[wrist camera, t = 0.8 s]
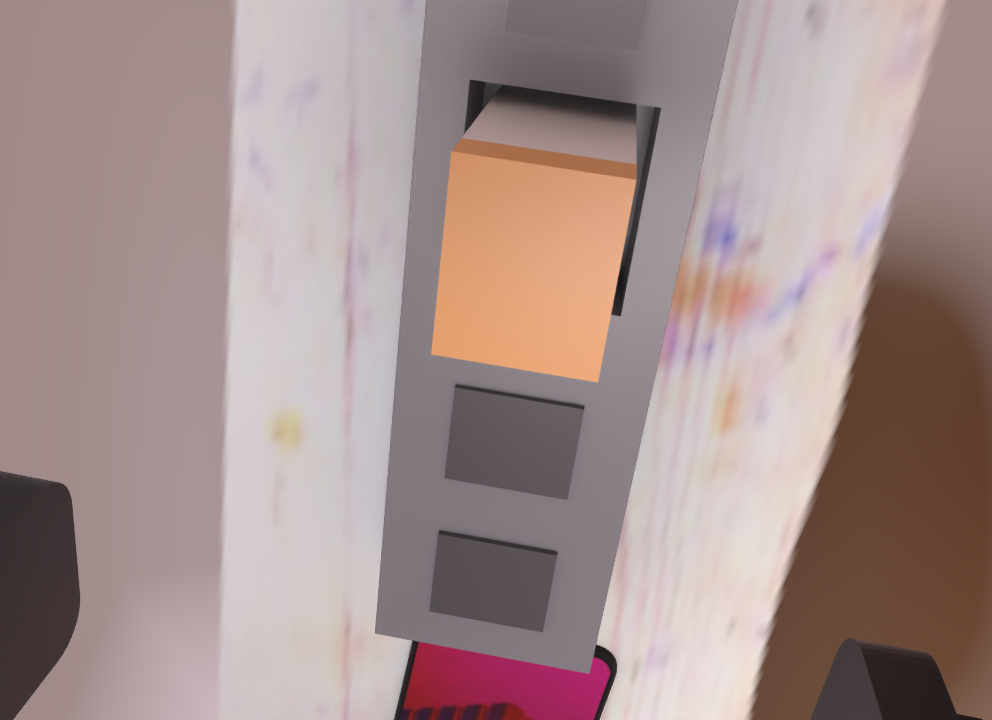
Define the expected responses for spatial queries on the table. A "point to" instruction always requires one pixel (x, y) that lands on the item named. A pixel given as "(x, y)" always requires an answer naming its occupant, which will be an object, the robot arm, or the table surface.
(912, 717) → the robot arm
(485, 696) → the smartphone
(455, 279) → the orange-topped block
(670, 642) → the table surface
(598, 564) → the power strip
